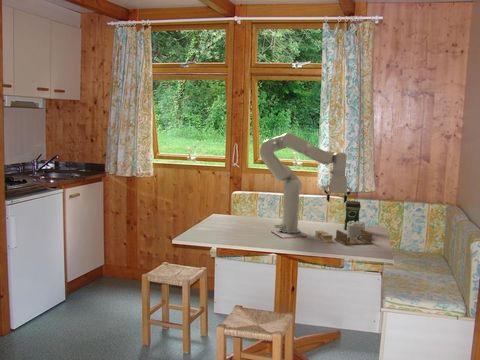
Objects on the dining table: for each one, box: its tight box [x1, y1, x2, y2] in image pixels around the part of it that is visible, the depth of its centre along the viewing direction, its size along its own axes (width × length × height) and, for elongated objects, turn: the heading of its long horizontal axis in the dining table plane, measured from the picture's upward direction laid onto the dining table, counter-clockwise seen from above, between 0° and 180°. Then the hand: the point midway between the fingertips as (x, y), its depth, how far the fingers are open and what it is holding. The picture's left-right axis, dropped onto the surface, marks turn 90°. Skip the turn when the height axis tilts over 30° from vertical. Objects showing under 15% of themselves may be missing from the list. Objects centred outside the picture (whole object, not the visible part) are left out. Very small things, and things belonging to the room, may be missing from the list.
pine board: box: [314, 230, 333, 243], centre depth 288 cm, size 12×5×4 cm, turn 16°
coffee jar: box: [343, 200, 361, 231], centre depth 318 cm, size 10×8×19 cm
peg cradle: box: [334, 229, 374, 246], centre depth 285 cm, size 18×12×6 cm, turn 108°
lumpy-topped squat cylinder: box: [346, 220, 366, 238], centre depth 302 cm, size 10×13×9 cm
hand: (336, 201), depth 296 cm, fingers open, 9 cm apart
